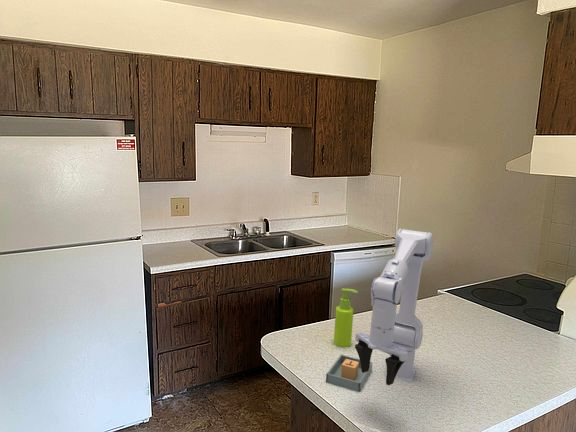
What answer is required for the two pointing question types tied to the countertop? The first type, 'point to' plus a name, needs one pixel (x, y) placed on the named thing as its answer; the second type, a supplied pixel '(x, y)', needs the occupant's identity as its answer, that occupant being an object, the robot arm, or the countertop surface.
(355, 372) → the letter cube
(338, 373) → the bin
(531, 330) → the countertop surface
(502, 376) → the countertop surface
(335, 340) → the soap dispenser
